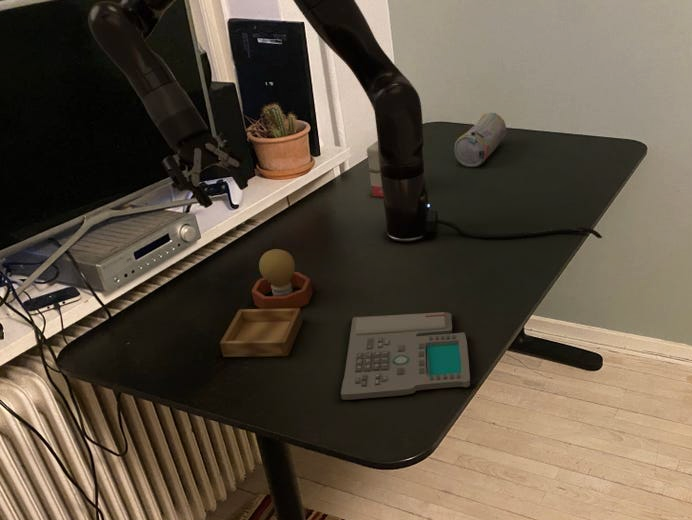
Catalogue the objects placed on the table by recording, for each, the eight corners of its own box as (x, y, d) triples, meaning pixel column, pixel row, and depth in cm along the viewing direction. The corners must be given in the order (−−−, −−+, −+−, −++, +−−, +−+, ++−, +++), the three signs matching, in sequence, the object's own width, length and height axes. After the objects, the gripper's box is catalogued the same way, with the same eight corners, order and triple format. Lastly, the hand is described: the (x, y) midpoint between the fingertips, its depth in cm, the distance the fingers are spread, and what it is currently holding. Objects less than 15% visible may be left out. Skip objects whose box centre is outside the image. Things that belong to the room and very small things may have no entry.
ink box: (389, 198, 178) (384, 150, 171) (371, 196, 179) (365, 149, 173) (403, 185, 185) (398, 139, 178) (386, 183, 186) (380, 137, 179)
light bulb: (307, 292, 140) (298, 245, 134) (289, 309, 135) (279, 260, 130) (278, 288, 142) (268, 241, 136) (260, 304, 137) (249, 256, 131)
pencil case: (483, 170, 192) (482, 134, 186) (453, 167, 194) (451, 131, 189) (507, 145, 208) (507, 111, 202) (479, 142, 210) (478, 109, 205)
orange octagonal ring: (316, 285, 143) (313, 271, 141) (304, 311, 134) (301, 297, 133) (264, 286, 143) (261, 272, 141) (250, 312, 135) (246, 298, 133)
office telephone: (350, 310, 129) (462, 302, 130) (352, 323, 131) (463, 315, 131) (339, 387, 110) (471, 377, 111) (341, 401, 111) (471, 391, 112)
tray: (302, 321, 131) (300, 308, 130) (288, 356, 122) (285, 342, 121) (242, 322, 132) (239, 309, 130) (223, 357, 123) (219, 343, 121)
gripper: (149, 120, 122) (206, 206, 127) (215, 94, 131) (265, 176, 136) (133, 136, 127) (188, 218, 132) (197, 111, 137) (246, 188, 141)
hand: (227, 197), depth 134 cm, fingers open, 8 cm apart
